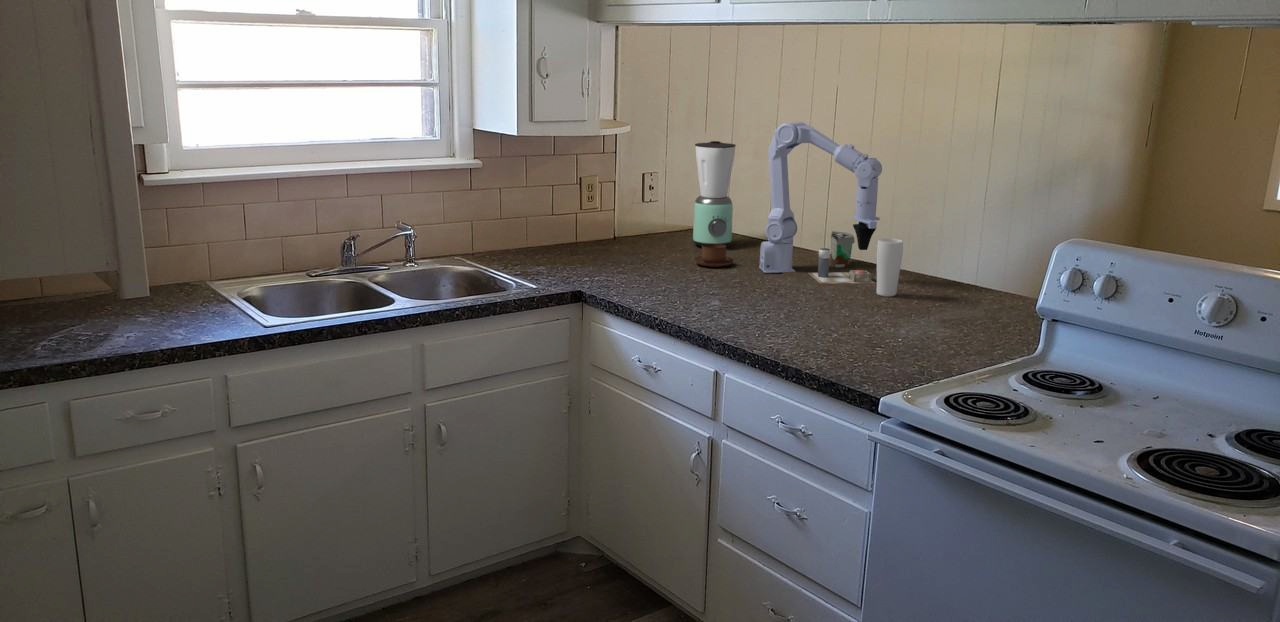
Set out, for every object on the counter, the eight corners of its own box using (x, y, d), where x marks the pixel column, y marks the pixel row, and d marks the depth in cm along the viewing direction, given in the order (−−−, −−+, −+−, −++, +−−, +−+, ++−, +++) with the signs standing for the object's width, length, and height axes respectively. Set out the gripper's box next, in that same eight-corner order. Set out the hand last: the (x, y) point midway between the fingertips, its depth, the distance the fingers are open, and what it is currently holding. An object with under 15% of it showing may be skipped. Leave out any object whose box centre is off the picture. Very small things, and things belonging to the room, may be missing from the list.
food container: (856, 271, 297) (858, 238, 294) (836, 270, 297) (838, 238, 294) (848, 262, 309) (851, 231, 306) (829, 262, 309) (831, 231, 306)
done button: (856, 279, 280) (856, 272, 280) (853, 276, 283) (853, 270, 283) (866, 279, 280) (867, 272, 280) (863, 276, 283) (863, 269, 283)
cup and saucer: (688, 262, 307) (689, 243, 305) (724, 260, 310) (725, 241, 308) (701, 270, 296) (702, 250, 294) (739, 268, 299) (739, 248, 297)
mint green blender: (738, 250, 326) (742, 143, 317) (699, 251, 323) (702, 143, 314) (722, 240, 344) (725, 138, 335) (685, 240, 341) (687, 138, 332)
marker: (819, 277, 284) (820, 250, 282) (816, 275, 287) (817, 248, 285) (829, 277, 284) (831, 250, 282) (826, 275, 287) (828, 248, 285)
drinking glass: (884, 298, 263) (889, 243, 259) (868, 293, 269) (872, 239, 265) (904, 296, 266) (908, 241, 262) (887, 291, 272) (891, 237, 268)
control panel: (820, 285, 277) (820, 275, 277) (807, 274, 291) (808, 264, 290) (875, 284, 279) (876, 274, 278) (860, 274, 292) (860, 264, 292)
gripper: (888, 205, 270) (885, 254, 273) (872, 198, 284) (868, 244, 287) (863, 205, 269) (860, 254, 273) (848, 198, 283) (845, 244, 287)
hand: (862, 249), depth 280 cm, fingers closed
